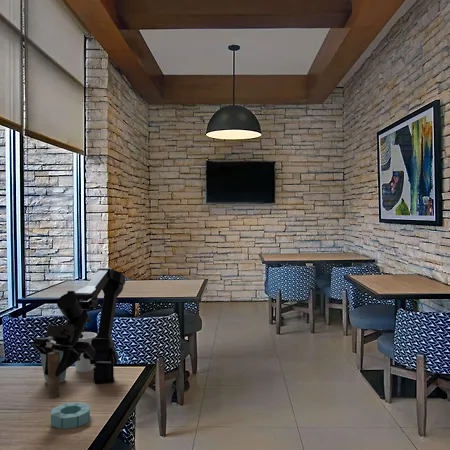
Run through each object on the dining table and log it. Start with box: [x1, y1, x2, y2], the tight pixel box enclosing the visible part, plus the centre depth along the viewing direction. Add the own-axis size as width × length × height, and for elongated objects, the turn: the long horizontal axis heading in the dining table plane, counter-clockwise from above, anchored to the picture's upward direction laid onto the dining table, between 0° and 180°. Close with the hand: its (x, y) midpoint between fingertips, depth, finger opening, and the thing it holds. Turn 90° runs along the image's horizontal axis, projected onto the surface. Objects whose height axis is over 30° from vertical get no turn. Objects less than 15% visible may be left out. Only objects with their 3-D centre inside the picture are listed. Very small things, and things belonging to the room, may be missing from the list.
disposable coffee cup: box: [39, 336, 67, 384], centre depth 166 cm, size 11×11×15 cm
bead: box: [50, 401, 91, 430], centre depth 135 cm, size 10×10×3 cm
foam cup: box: [74, 331, 98, 373], centre depth 178 cm, size 10×9×13 cm
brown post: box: [47, 352, 61, 400], centre depth 135 cm, size 3×3×12 cm
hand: (50, 375), depth 133 cm, fingers closed on brown post, 3 cm apart
